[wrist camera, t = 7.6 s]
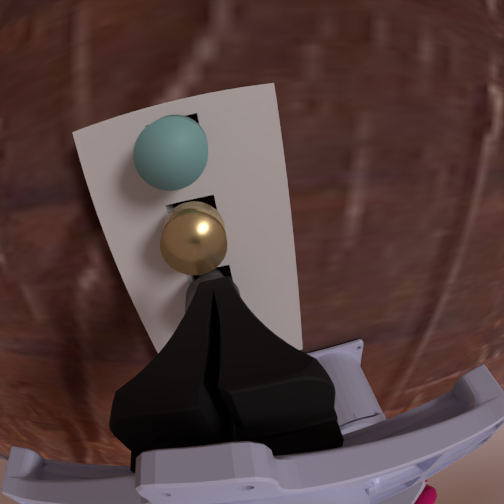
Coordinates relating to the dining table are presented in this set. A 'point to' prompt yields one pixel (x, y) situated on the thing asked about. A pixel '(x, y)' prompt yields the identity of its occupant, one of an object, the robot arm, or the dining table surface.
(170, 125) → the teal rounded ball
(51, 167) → the dining table surface
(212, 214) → the brass dome cap
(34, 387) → the dining table surface
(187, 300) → the dark grey rounded knob
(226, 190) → the console
